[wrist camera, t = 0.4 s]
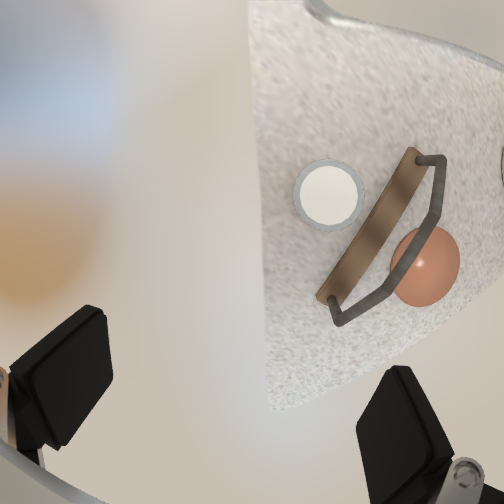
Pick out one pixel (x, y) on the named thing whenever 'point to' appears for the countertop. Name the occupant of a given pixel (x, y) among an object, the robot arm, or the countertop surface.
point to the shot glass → (328, 195)
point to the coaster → (428, 269)
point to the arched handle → (385, 236)
